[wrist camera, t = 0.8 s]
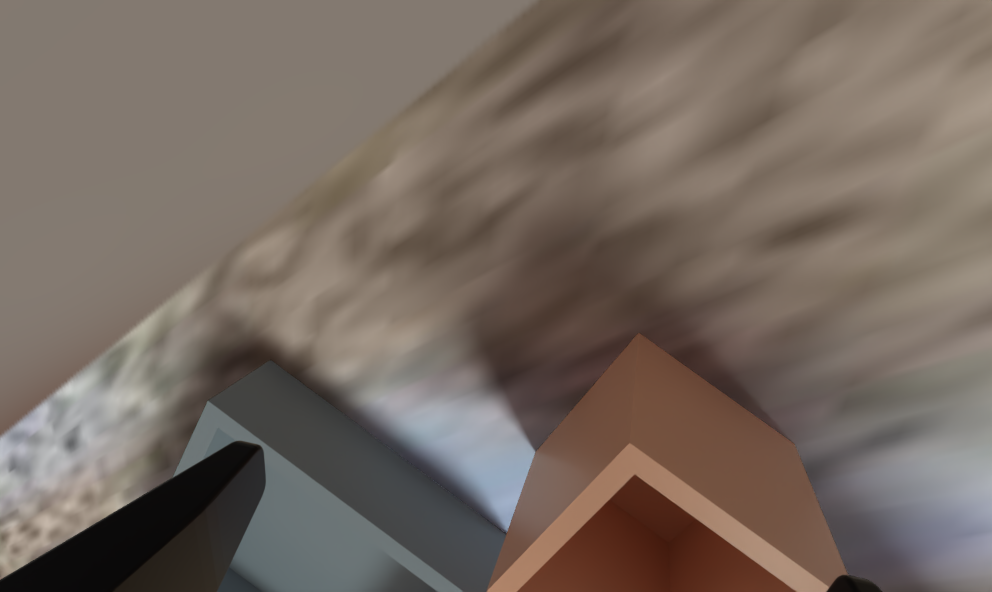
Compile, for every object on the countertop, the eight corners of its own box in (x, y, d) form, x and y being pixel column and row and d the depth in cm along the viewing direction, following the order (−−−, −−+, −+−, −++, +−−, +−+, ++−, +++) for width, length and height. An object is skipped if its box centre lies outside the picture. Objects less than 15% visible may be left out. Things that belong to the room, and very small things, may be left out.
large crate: (516, 534, 24) (490, 611, 20) (383, 676, 29) (344, 758, 25) (275, 356, 24) (207, 400, 21) (187, 528, 30) (122, 587, 26)
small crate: (794, 443, 19) (863, 611, 13) (671, 549, 22) (676, 734, 15) (638, 331, 19) (629, 443, 13) (535, 451, 22) (486, 592, 16)
